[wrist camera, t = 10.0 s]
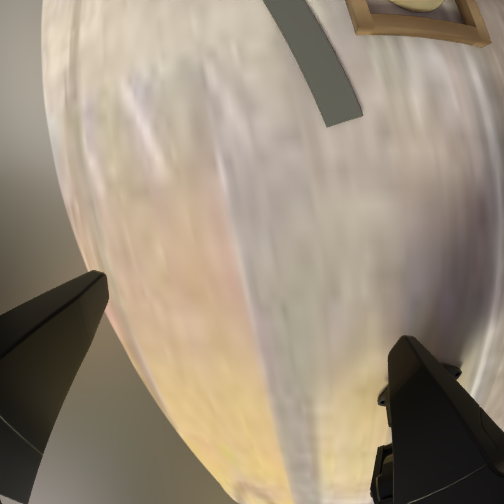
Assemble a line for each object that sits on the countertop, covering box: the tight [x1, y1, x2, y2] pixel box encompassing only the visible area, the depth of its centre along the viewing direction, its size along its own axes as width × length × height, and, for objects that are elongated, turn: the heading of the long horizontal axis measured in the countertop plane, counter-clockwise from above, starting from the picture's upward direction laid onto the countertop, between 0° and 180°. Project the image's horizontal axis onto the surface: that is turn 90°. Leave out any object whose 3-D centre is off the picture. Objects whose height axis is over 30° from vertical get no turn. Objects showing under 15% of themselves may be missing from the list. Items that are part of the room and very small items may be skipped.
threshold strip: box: [263, 0, 363, 127], centre depth 13 cm, size 18×2×1 cm, turn 23°
